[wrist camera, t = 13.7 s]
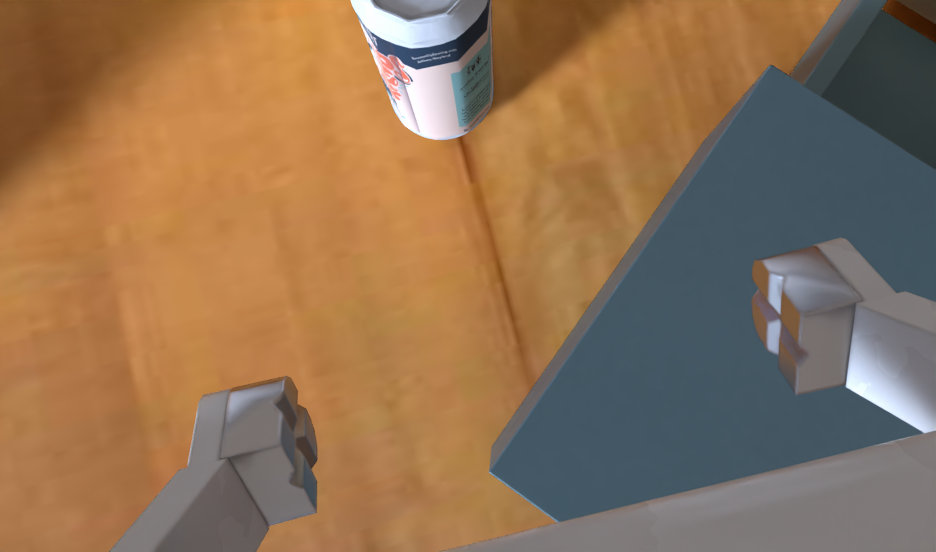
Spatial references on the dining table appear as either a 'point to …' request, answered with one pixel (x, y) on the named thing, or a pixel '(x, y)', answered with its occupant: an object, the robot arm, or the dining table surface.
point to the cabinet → (721, 316)
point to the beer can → (433, 61)
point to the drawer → (878, 72)
